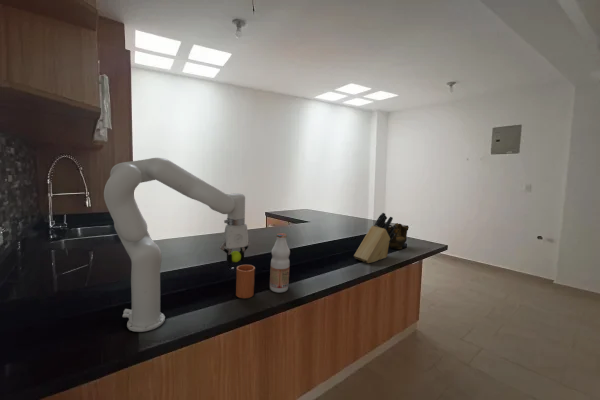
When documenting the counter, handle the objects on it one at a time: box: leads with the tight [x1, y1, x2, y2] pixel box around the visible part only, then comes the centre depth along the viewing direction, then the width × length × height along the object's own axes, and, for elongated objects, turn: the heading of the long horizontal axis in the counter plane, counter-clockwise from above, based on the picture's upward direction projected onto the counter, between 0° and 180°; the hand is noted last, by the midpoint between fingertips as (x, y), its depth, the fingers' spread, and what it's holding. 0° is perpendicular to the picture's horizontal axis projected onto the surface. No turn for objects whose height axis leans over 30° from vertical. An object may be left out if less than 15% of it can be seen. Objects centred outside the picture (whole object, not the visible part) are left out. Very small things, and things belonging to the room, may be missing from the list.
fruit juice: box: [269, 232, 291, 293], centre depth 144 cm, size 9×9×28 cm
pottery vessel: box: [387, 222, 409, 250], centre depth 232 cm, size 25×11×20 cm, turn 132°
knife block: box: [353, 212, 396, 264], centre depth 202 cm, size 11×35×31 cm, turn 133°
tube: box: [235, 264, 256, 299], centre depth 137 cm, size 8×8×13 cm
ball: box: [231, 250, 241, 263], centre depth 130 cm, size 5×5×5 cm
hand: (235, 261), depth 130 cm, fingers closed on ball, 4 cm apart
